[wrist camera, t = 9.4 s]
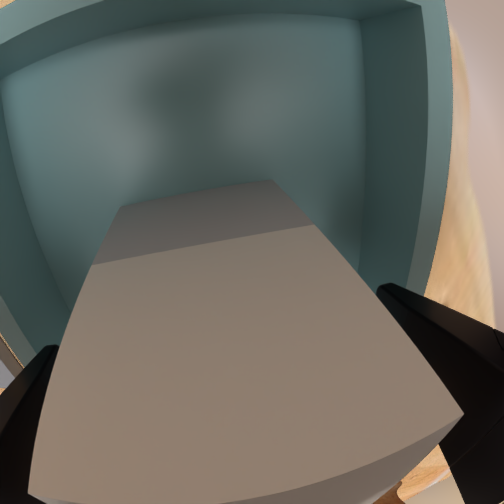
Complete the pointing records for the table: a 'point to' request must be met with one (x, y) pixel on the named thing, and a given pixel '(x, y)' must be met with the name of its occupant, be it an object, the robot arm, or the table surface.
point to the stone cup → (390, 496)
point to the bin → (216, 130)
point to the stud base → (7, 366)
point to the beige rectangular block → (231, 366)
